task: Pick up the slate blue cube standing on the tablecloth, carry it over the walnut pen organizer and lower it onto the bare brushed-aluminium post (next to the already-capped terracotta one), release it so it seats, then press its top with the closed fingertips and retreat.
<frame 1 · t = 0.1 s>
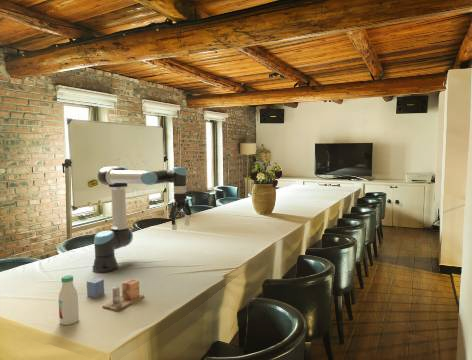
hand: (181, 227, 214), 28 cm above the table, fingers open, 13 cm apart
organizer: (124, 302, 175), on the table
milk bottle: (69, 321, 156), on the table
slate blue cube: (95, 294, 184), on the table
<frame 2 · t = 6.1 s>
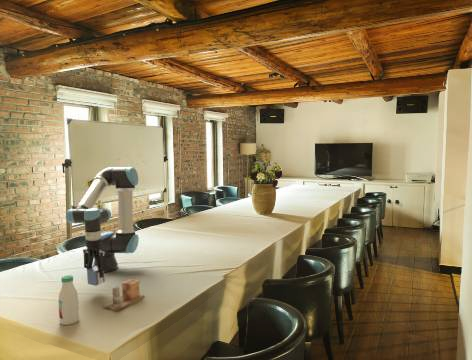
hand: (95, 282, 184), 7 cm above the table, fingers closed on slate blue cube, 6 cm apart
slate blue cube: (96, 282, 184), point 6 cm above the table, touching gripper
everything else where it was.
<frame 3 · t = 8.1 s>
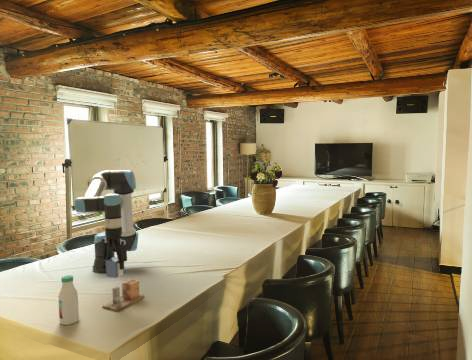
hand: (115, 274, 169), 16 cm above the table, fingers closed on slate blue cube, 6 cm apart
slate blue cube: (115, 275, 169), point 15 cm above the table, touching gripper
everything else where it was.
when the fingers open (3 cm above the table, at t = 10.4 s): slate blue cube drops 1 cm, resting on organizer.
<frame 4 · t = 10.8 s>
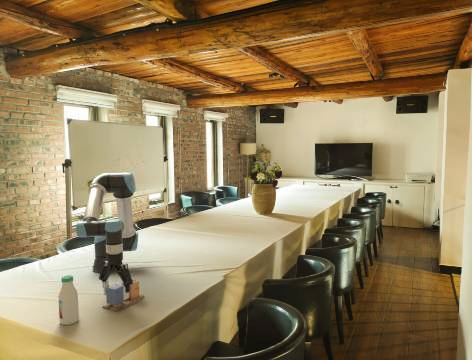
hand: (116, 296, 170), 5 cm above the table, fingers open, 12 cm apart
slate blue cube: (115, 302, 170), point 2 cm above the table, touching organizer
everything else where it was.
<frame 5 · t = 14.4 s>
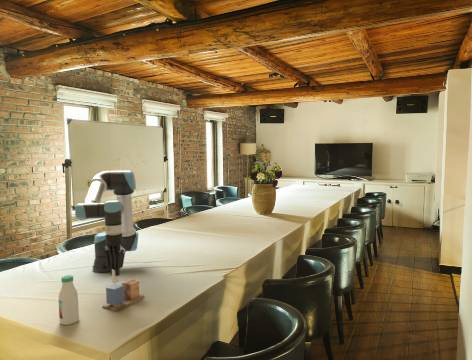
hand: (115, 282, 169), 12 cm above the table, fingers closed
nothing on the table moved.
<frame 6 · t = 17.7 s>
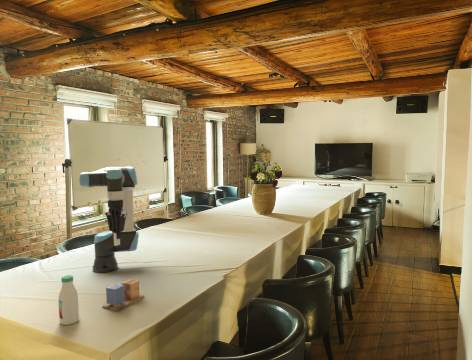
hand: (117, 244, 182), 26 cm above the table, fingers closed
nothing on the table moved.
at the end: slate blue cube 0.6 cm from the target spot, point 2.0 cm above the table; slate blue cube tilted 0°; the gripper is holding nothing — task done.
